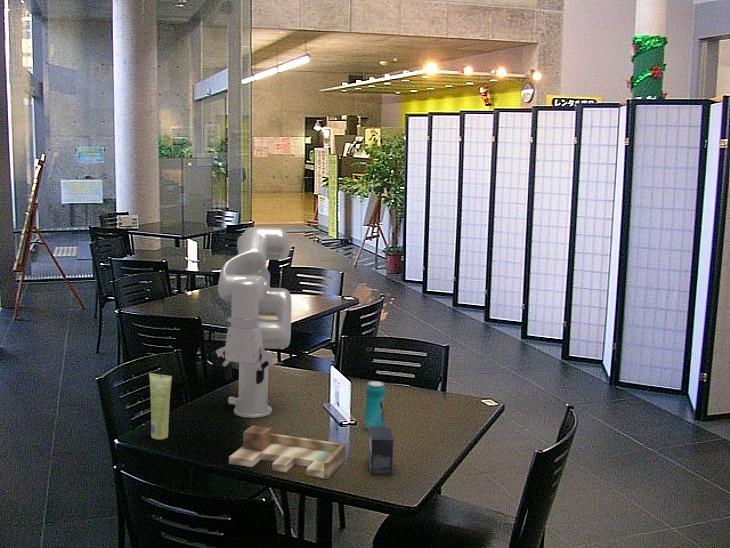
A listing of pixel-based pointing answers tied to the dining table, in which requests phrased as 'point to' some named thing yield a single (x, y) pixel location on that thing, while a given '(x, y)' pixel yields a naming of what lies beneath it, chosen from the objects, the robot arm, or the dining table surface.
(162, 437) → the tube
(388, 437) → the small box
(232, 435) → the dining table surface
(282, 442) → the trap tray
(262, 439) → the walnut block
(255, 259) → the robot arm
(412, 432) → the dining table surface
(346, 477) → the dining table surface
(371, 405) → the beverage can
